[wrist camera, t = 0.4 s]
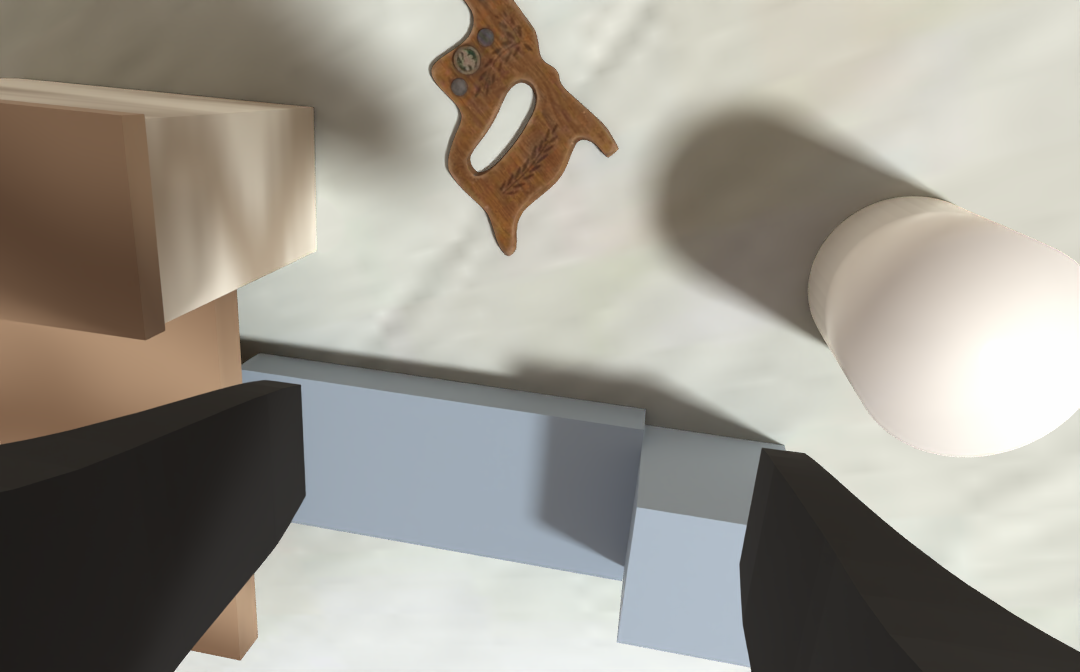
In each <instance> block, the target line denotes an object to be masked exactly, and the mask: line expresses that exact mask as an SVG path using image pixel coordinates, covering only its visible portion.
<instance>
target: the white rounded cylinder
mask: <svg viewBox="0 0 1080 672" xmlns="http://www.w3.org/2000/svg"><path fill="white" fill-rule="evenodd" d="M808 302H809V308H810V311H811V315H812V318H813V320H814V322H815V324H816V327H817V328H818V330H819V332H820V333H821V335H822V337H823V338H824V340H825V342H826V343H827V345H828V347H829V348H830V350H831V352H832V353H833V355H834V357H835V358H836V360H837V362H838V363H839V365H840V367H841V368H842V370H843V372H844V373H845V375H846V377H847V379H848V380H849V382H850V384H851V385H852V387H853V389H854V390H855V392H856V394H857V395H858V397H859V399H860V400H861V402H862V404H863V405H864V407H865V408H866V410H867V411H868V413H869V414H870V415H871V417H872V418H873V419H874V420H875V421H876V422H877V423H878V424H879V425H880V426H881V427H882V428H883V429H884V430H886V431H887V432H888V433H889V434H890V435H892V436H894V437H895V438H897V439H898V440H900V441H901V442H903V443H905V444H908V445H910V446H912V447H914V448H916V449H920V450H923V451H926V452H929V453H933V454H938V455H943V456H952V457H980V456H988V455H994V454H999V453H1003V452H1007V451H1011V450H1013V449H1016V448H1019V447H1022V446H1025V445H1027V444H1029V443H1031V442H1033V441H1036V440H1038V439H1040V438H1041V437H1043V436H1045V435H1046V434H1048V433H1050V432H1051V431H1053V430H1054V429H1056V428H1057V427H1058V426H1060V425H1061V424H1062V423H1064V422H1065V421H1066V420H1067V419H1068V418H1070V417H1071V416H1072V415H1073V414H1074V413H1075V412H1076V411H1077V410H1078V409H1079V408H1080V265H1079V264H1078V263H1077V262H1076V261H1075V260H1074V259H1072V258H1071V257H1069V256H1068V255H1066V254H1064V253H1063V252H1061V251H1060V250H1058V249H1056V248H1053V247H1051V246H1049V245H1047V244H1045V243H1042V242H1040V241H1038V240H1035V239H1033V238H1031V237H1028V236H1026V235H1024V234H1022V233H1019V232H1017V231H1015V230H1012V229H1010V228H1008V227H1005V226H1003V225H1001V224H998V223H996V222H994V221H991V220H989V219H987V218H984V217H982V216H980V215H977V214H975V213H973V212H970V211H968V210H966V209H963V208H961V207H959V206H956V205H954V204H952V203H950V202H947V201H943V200H940V199H937V198H931V197H925V196H904V197H896V198H891V199H886V200H883V201H880V202H877V203H874V204H871V205H869V206H867V207H865V208H863V209H861V210H859V211H857V212H856V213H854V214H853V215H851V216H849V217H848V218H847V219H846V220H844V221H843V222H842V223H841V224H839V225H838V226H837V227H836V228H835V229H834V230H833V231H832V232H831V234H830V235H829V236H828V237H827V239H826V240H825V241H824V243H823V244H822V246H821V248H820V249H819V251H818V253H817V255H816V257H815V259H814V262H813V264H812V267H811V271H810V274H809V281H808Z"/></svg>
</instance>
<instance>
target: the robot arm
mask: <svg viewBox="0 0 1080 672" xmlns="http://www.w3.org/2000/svg"><path fill="white" fill-rule="evenodd" d="M305 497H306V485H305V463H304V440H303V417H302V395H301V385H300V384H293V383H286V382H279V381H271V380H260V381H252V382H247V383H242V384H238V385H234V386H230V387H226V388H222V389H218V390H214V391H211V392H207V393H204V394H200V395H197V396H193V397H190V398H186V399H183V400H179V401H176V402H172V403H169V404H165V405H162V406H158V407H155V408H151V409H148V410H145V411H141V412H137V413H133V414H130V415H126V416H122V417H118V418H114V419H111V420H107V421H103V422H99V423H95V424H91V425H88V426H84V427H80V428H76V429H72V430H68V431H64V432H60V433H55V434H51V435H46V436H41V437H37V438H32V439H27V440H22V441H17V442H11V443H6V444H1V445H0V672H174V671H175V670H176V668H177V667H178V666H179V664H180V663H181V662H182V660H183V659H184V658H185V656H186V655H187V654H188V653H189V652H190V650H191V649H192V648H193V647H194V646H195V644H196V643H197V642H198V641H199V640H200V638H201V637H202V636H203V635H204V633H205V632H206V631H207V630H208V629H209V627H210V626H211V625H212V624H213V623H214V621H215V620H216V619H217V618H218V617H219V615H220V614H221V613H222V612H223V611H224V609H225V608H226V607H227V606H228V605H229V603H230V602H231V601H232V600H233V599H234V597H235V596H236V595H237V594H238V593H239V591H240V590H241V589H242V588H243V586H244V585H245V584H246V583H247V582H248V580H249V579H250V578H251V577H252V575H253V574H254V573H255V572H256V570H257V569H258V568H259V567H260V566H261V564H262V563H263V562H264V561H265V559H266V558H267V557H268V556H269V554H270V553H271V552H272V551H273V549H274V548H275V547H276V545H277V544H278V542H279V541H280V539H281V537H282V536H283V534H284V533H285V531H286V529H287V528H288V526H289V525H290V523H291V521H292V520H293V518H294V516H295V514H296V513H297V511H298V509H299V507H300V506H301V504H302V502H303V500H304V499H305ZM739 569H740V591H741V608H742V623H743V629H744V635H745V641H746V646H747V651H748V656H749V662H750V667H751V672H1080V652H1079V651H1077V650H1075V649H1073V648H1072V647H1070V646H1068V645H1066V644H1064V643H1062V642H1061V641H1059V640H1057V639H1055V638H1053V637H1051V636H1050V635H1048V634H1046V633H1044V632H1043V631H1041V630H1039V629H1038V628H1036V627H1034V626H1032V625H1031V624H1029V623H1027V622H1026V621H1024V620H1022V619H1021V618H1019V617H1017V616H1016V615H1014V614H1012V613H1011V612H1009V611H1008V610H1006V609H1005V608H1003V607H1002V606H1000V605H998V604H997V603H995V602H994V601H992V600H991V599H989V598H988V597H986V596H985V595H983V594H981V593H980V592H978V591H977V590H975V589H974V588H972V587H971V586H969V585H968V584H966V583H965V582H963V581H962V580H960V579H959V578H958V577H956V576H955V575H953V574H952V573H950V572H949V571H948V570H946V569H945V568H943V567H942V566H941V565H939V564H938V563H937V562H936V561H934V560H933V559H932V558H930V557H929V556H928V555H926V554H925V553H924V552H922V551H921V550H920V549H918V548H917V547H916V546H914V545H913V544H912V543H910V542H909V541H908V540H907V539H905V538H904V537H903V536H902V535H901V534H899V533H898V532H897V531H896V530H894V529H893V528H892V527H891V526H889V525H888V524H887V523H886V522H885V521H883V520H882V519H881V518H880V517H879V516H878V515H876V514H875V513H874V512H873V511H872V510H871V509H869V508H868V507H867V506H866V505H865V504H864V503H862V502H861V501H860V500H859V499H858V498H857V497H856V496H855V495H853V494H852V493H851V492H850V491H849V490H848V489H847V488H846V487H844V486H843V485H842V484H841V483H840V482H839V481H838V480H837V479H835V478H834V477H833V476H832V475H831V474H830V473H829V472H827V471H826V470H825V469H824V468H823V467H822V466H821V465H819V464H818V463H817V462H816V461H815V460H813V459H812V458H811V457H809V456H808V455H806V454H805V453H799V452H791V451H784V450H777V449H769V448H762V449H761V454H760V459H759V464H758V469H757V475H756V480H755V485H754V490H753V495H752V501H751V506H750V511H749V516H748V521H747V527H746V532H745V537H744V542H743V548H742V553H741V558H740V563H739Z"/></svg>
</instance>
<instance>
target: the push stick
mask: <svg viewBox="0 0 1080 672" xmlns="http://www.w3.org/2000/svg"><path fill="white" fill-rule="evenodd" d="M241 369H242V383H247V382H252V381H260V380H271V381H279V382H286V383H293V384H300V385H301V395H302V417H303V440H304V463H305V485H306V497H305V499H304V500H303V502H302V504H301V506H300V507H299V509H298V511H297V513H296V514H295V516H294V518H293V520H292V521H291V522H292V523H298V524H303V525H309V526H315V527H320V528H326V529H332V530H337V531H343V532H349V533H354V534H360V535H366V536H371V537H377V538H382V539H388V540H394V541H399V542H405V543H411V544H416V545H422V546H428V547H433V548H439V549H445V550H450V551H456V552H461V553H467V554H473V555H478V556H484V557H490V558H495V559H501V560H507V561H512V562H518V563H524V564H529V565H535V566H541V567H546V568H552V569H557V570H563V571H569V572H574V573H580V574H586V575H591V576H597V577H603V578H608V579H614V580H620V581H622V579H623V585H622V595H621V605H620V616H619V626H618V636H617V642H618V643H623V644H629V645H634V646H639V647H645V648H650V649H655V650H661V651H666V652H671V653H676V654H682V655H687V656H692V657H698V658H703V659H708V660H714V661H719V662H724V663H730V664H735V665H740V666H746V667H750V662H749V656H748V651H747V646H746V641H745V635H744V629H743V623H742V608H741V591H740V569H739V563H740V558H741V553H742V548H743V542H744V537H745V532H746V527H747V521H748V516H749V511H750V506H751V501H752V495H753V490H754V485H755V480H756V475H757V469H758V464H759V459H760V454H761V449H762V448H769V449H777V450H784V451H786V450H785V447H784V445H778V444H772V443H765V442H758V441H751V440H745V439H738V438H731V437H724V436H718V435H711V434H704V433H697V432H691V431H684V430H677V429H670V428H664V427H657V426H650V425H645V413H646V409H642V408H635V407H628V406H621V405H614V404H607V403H601V402H594V401H587V400H580V399H573V398H566V397H559V396H552V395H545V394H539V393H532V392H525V391H518V390H511V389H504V388H497V387H490V386H484V385H477V384H470V383H463V382H456V381H449V380H442V379H435V378H428V377H422V376H415V375H408V374H401V373H394V372H387V371H380V370H373V369H367V368H360V367H353V366H346V365H339V364H332V363H325V362H318V361H311V360H305V359H298V358H291V357H284V356H277V355H270V354H263V353H258V354H257V355H255V356H254V357H252V358H251V359H249V360H248V361H246V362H245V363H243V364H242V365H241ZM623 572H624V574H623Z"/></svg>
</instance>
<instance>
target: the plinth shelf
mask: <svg viewBox="0 0 1080 672" xmlns="http://www.w3.org/2000/svg"><path fill="white" fill-rule="evenodd" d="M316 251H317V234H316V188H315V143H314V107H306V106H296V105H285V104H275V103H265V102H255V101H245V100H234V99H224V98H214V97H204V96H193V95H183V94H173V93H163V92H153V91H142V90H132V89H122V88H112V87H102V86H91V85H81V84H71V83H61V82H51V81H40V80H30V79H20V78H0V445H1V444H6V443H11V442H17V441H22V440H27V439H32V438H37V437H41V436H46V435H51V434H55V433H60V432H64V431H68V430H72V429H76V428H80V427H84V426H88V425H91V424H95V423H99V422H103V421H107V420H111V419H114V418H118V417H122V416H126V415H130V414H133V413H137V412H141V411H145V410H148V409H151V408H155V407H158V406H162V405H165V404H169V403H172V402H176V401H179V400H183V399H186V398H190V397H193V396H197V395H200V394H204V393H207V392H211V391H214V390H218V389H222V388H226V387H230V386H234V385H238V384H242V369H241V352H240V336H239V320H238V303H237V289H238V288H240V287H242V286H244V285H246V284H248V283H251V282H253V281H255V280H257V279H259V278H261V277H263V276H265V275H267V274H269V273H272V272H274V271H276V270H278V269H280V268H282V267H284V266H286V265H288V264H290V263H293V262H295V261H297V260H299V259H301V258H303V257H305V256H307V255H309V254H311V253H314V252H316ZM257 638H258V631H257V614H256V598H255V582H254V574H253V575H252V577H251V578H250V579H249V580H248V582H247V583H246V584H245V585H244V586H243V588H242V589H241V590H240V591H239V593H238V594H237V595H236V596H235V597H234V599H233V600H232V601H231V602H230V603H229V605H228V606H227V607H226V608H225V609H224V611H223V612H222V613H221V614H220V615H219V617H218V618H217V619H216V620H215V621H214V623H213V624H212V625H211V626H210V627H209V629H208V630H207V631H206V632H205V633H204V635H203V636H202V637H201V638H200V640H199V641H198V642H197V643H196V644H195V646H194V647H193V648H192V649H191V650H192V651H196V652H201V653H206V654H211V655H216V656H221V657H226V658H231V659H236V660H241V659H242V658H243V656H244V655H245V654H246V652H247V651H248V650H249V648H250V647H251V646H252V644H253V643H254V642H255V640H256V639H257Z"/></svg>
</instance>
